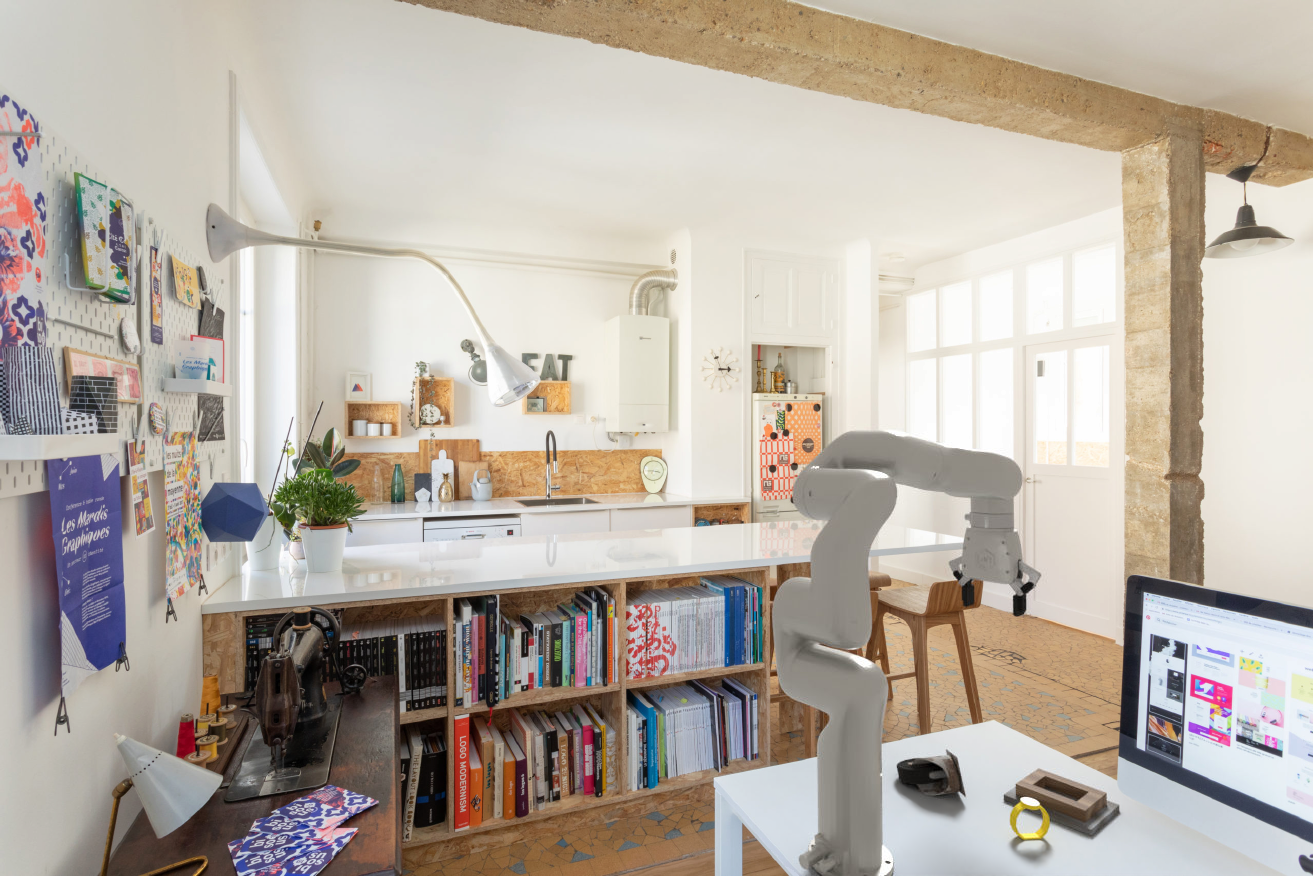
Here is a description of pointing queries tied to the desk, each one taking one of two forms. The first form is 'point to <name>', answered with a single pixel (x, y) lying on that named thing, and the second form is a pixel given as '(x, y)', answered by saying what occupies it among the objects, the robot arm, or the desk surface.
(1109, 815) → the frame
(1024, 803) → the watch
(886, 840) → the desk surface
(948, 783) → the caster wheel
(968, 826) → the desk surface
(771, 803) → the desk surface
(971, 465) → the robot arm
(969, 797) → the desk surface
